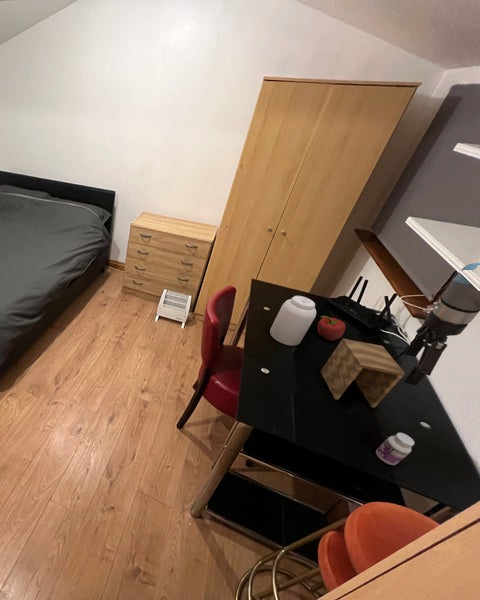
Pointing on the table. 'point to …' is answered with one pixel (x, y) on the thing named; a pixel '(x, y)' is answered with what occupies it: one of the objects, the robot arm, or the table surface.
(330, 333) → the vegetable
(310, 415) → the table surface
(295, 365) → the table surface
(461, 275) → the robot arm
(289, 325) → the white jar
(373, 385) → the cubby
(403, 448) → the pill bottle
